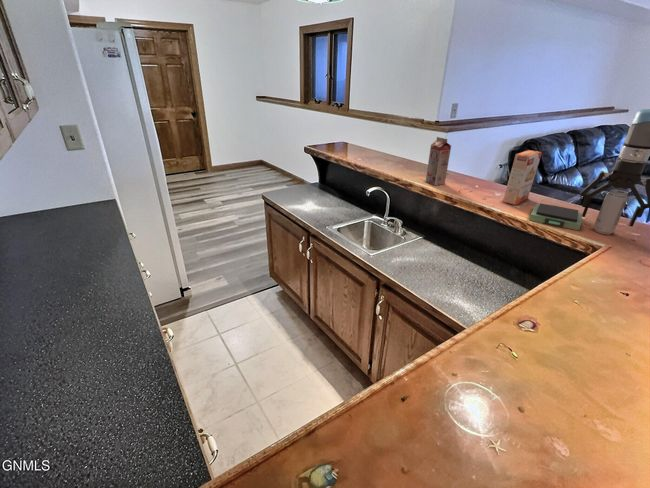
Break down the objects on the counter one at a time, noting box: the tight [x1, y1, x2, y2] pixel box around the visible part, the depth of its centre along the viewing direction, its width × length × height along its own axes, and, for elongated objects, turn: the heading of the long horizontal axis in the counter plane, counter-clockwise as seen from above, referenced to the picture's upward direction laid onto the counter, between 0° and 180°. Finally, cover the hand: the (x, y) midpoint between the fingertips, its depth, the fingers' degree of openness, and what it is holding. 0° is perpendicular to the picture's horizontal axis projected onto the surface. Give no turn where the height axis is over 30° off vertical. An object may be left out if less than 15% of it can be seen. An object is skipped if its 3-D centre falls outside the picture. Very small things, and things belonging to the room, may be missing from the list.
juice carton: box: [425, 136, 452, 186], centre depth 171 cm, size 7×7×22 cm
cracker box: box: [502, 149, 543, 206], centre depth 149 cm, size 14×6×21 cm, turn 132°
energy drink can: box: [593, 188, 629, 236], centre depth 121 cm, size 6×6×15 cm
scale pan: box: [536, 202, 579, 222], centre depth 133 cm, size 13×12×1 cm
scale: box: [529, 204, 583, 231], centre depth 133 cm, size 16×15×2 cm
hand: (606, 220), depth 123 cm, fingers open, 13 cm apart
